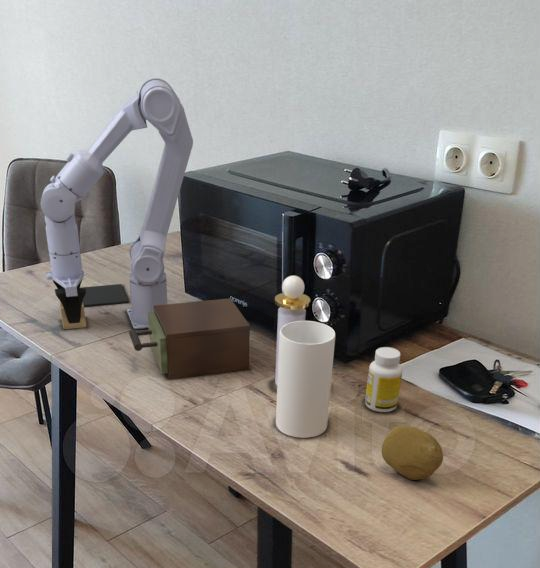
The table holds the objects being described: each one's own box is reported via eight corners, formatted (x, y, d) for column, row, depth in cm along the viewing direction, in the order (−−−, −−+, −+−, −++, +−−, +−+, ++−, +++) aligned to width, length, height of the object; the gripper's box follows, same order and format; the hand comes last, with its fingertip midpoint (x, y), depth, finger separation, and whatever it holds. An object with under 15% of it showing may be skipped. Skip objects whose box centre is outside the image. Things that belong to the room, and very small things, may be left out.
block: (61, 320, 141) (58, 300, 139) (84, 318, 143) (81, 298, 140) (63, 329, 138) (60, 308, 136) (86, 327, 139) (84, 306, 137)
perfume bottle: (311, 389, 122) (319, 278, 111) (283, 397, 119) (289, 285, 108) (291, 375, 125) (297, 267, 114) (264, 383, 123) (268, 273, 112)
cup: (300, 404, 117) (306, 316, 108) (337, 424, 112) (347, 333, 103) (264, 422, 112) (268, 330, 103) (302, 444, 107) (309, 349, 98)
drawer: (138, 376, 121) (135, 341, 118) (128, 348, 130) (125, 314, 127) (236, 364, 126) (236, 330, 122) (219, 338, 135) (219, 305, 131)
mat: (75, 289, 155) (75, 288, 155) (121, 285, 158) (121, 284, 158) (80, 307, 147) (79, 305, 147) (128, 302, 150) (127, 301, 150)
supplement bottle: (403, 405, 118) (411, 352, 113) (384, 416, 115) (392, 363, 109) (377, 393, 121) (384, 341, 116) (358, 404, 118) (364, 352, 112)
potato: (376, 461, 104) (383, 415, 100) (426, 460, 105) (435, 415, 100) (386, 490, 98) (393, 443, 94) (439, 489, 99) (449, 442, 95)
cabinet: (169, 379, 123) (167, 334, 118) (155, 348, 133) (153, 305, 128) (249, 369, 127) (250, 325, 122) (230, 339, 137) (230, 298, 132)
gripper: (40, 239, 137) (49, 305, 144) (44, 265, 125) (55, 334, 133) (77, 237, 139) (84, 301, 146) (85, 262, 127) (93, 330, 135)
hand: (73, 317), depth 140 cm, fingers closed on block, 4 cm apart
